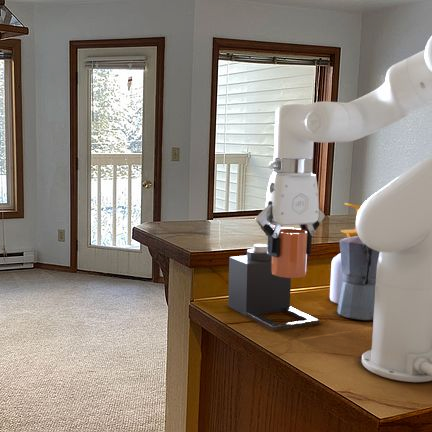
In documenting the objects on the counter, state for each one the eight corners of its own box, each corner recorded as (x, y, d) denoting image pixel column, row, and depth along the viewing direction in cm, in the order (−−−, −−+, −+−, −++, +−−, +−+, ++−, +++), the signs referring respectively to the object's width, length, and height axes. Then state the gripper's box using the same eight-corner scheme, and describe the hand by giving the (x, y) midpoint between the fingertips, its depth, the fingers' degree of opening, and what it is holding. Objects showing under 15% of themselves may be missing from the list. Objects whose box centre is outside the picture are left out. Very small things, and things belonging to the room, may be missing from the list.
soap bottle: (322, 298, 141) (327, 201, 137) (352, 295, 143) (357, 200, 140) (344, 308, 132) (350, 206, 129) (376, 305, 135) (383, 204, 131)
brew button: (270, 253, 129) (270, 246, 129) (258, 254, 128) (258, 247, 128) (262, 250, 132) (262, 243, 132) (250, 251, 131) (251, 244, 131)
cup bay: (319, 324, 121) (319, 319, 121) (272, 331, 117) (273, 326, 117) (289, 310, 131) (290, 306, 131) (246, 316, 126) (246, 312, 126)
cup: (312, 276, 112) (314, 232, 111) (284, 279, 110) (286, 234, 108) (292, 268, 118) (293, 227, 117) (265, 271, 116) (266, 229, 115)
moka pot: (370, 306, 134) (375, 224, 131) (392, 328, 118) (398, 236, 116) (329, 305, 135) (333, 224, 132) (346, 327, 119) (351, 235, 117)
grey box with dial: (289, 310, 131) (292, 252, 129) (246, 316, 126) (247, 256, 124) (270, 301, 138) (272, 246, 136) (228, 306, 134) (229, 249, 132)
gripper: (266, 169, 104) (263, 262, 107) (340, 167, 111) (335, 255, 113) (245, 167, 111) (242, 254, 114) (316, 165, 117) (312, 248, 120)
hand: (289, 254), depth 113 cm, fingers closed on cup, 6 cm apart
